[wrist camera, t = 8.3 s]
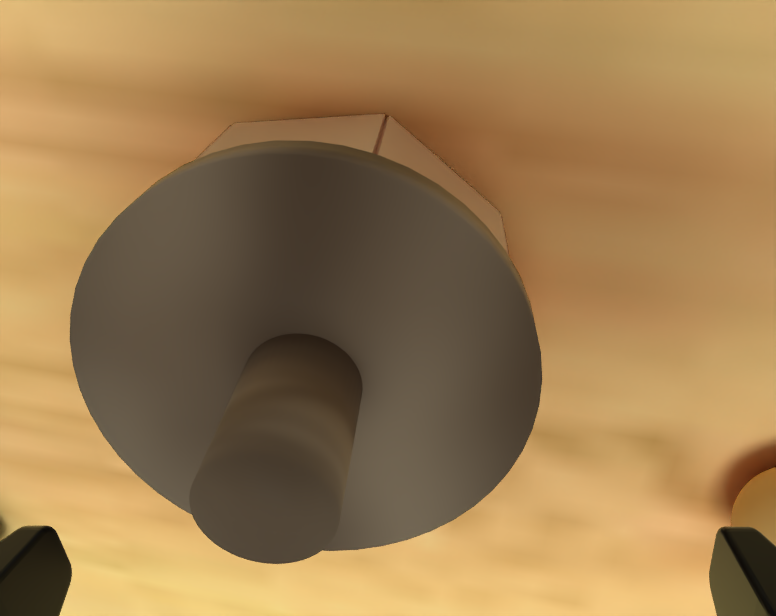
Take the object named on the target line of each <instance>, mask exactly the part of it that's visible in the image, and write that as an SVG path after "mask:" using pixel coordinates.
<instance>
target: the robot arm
mask: <svg viewBox="0 0 776 616" xmlns="http://www.w3.org/2000/svg"><path fill="white" fill-rule="evenodd" d="M71 577H72V569H71V564H70V561H69V559H68V557H67V554H66V552H65V550H64V548H63V545H62V543H61V541H60V539H59V536H58V534H57V532H56V531H55V530H54V529H53V528H52V527H50V526H24V527H21V528H19V529H17V530H16V531H14V532H13V533H12V534H10V535H9V536H7V537H6V538H5V539H3V540H2V541H0V616H59V615H60V612H61V609H62V606H63V603H64V600H65V597H66V594H67V591H68V588H69V586H70V582H71ZM709 581H710V588H711V593H712V597H713V601H714V605H715V609H716V613H717V616H776V546H775V545H774V544H773V543H772V542H771V541H770V540H768V539H767V538H766V537H765V536H764V535H763V534H762V533H761V532H759V531H758V530H756V529H754V528H752V527H721V528H720V529H719V530H718V532H717V534H716V538H715V544H714V549H713V554H712V560H711V565H710V571H709Z"/></svg>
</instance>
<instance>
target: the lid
mask: <svg viewBox="0 0 776 616" xmlns="http://www.w3.org/2000/svg"><path fill="white" fill-rule="evenodd" d="M70 345H71V352H72V360H73V366H74V370H75V374H76V377H77V381H78V384H79V388H80V391H81V393H82V396H83V398H84V400H85V403H86V405H87V407H88V409H89V412H90V414H91V416H92V417H93V419H94V421H95V422H96V424H97V426H98V427H99V429H100V431H101V432H102V434H103V436H104V437H105V438H106V440H107V441H108V442H109V444H110V445H111V446H112V448H113V449H114V450H115V452H116V453H117V454H118V455H119V457H120V458H121V459H122V460H123V461H124V462H125V463H126V464H127V465H128V466H129V467H130V468H131V469H132V470H133V471H134V472H135V473H136V474H137V476H139V477H140V478H141V479H142V480H143V481H145V482H146V483H147V484H148V485H149V486H150V487H152V488H153V489H154V490H155V491H156V492H158V493H159V494H160V495H162V496H163V497H165V498H166V499H168V500H169V501H171V502H172V503H173V504H175V505H176V506H178V507H179V508H181V509H183V510H185V511H186V512H188V513H190V514H192V515H193V518H194V520H195V521H196V523H197V525H198V526H199V528H200V529H201V530H202V532H203V533H204V534H205V535H206V536H207V537H208V538H209V539H210V540H211V541H213V542H214V543H215V544H216V545H218V546H219V547H221V548H222V549H224V550H226V551H228V552H229V553H231V554H234V555H236V556H238V557H241V558H244V559H247V560H251V561H255V562H261V563H271V564H282V563H291V562H297V561H300V560H304V559H307V558H309V557H311V556H313V555H315V554H317V553H319V552H320V551H322V550H324V551H338V550H358V549H365V548H372V547H379V546H384V545H388V544H392V543H396V542H400V541H404V540H408V539H411V538H413V537H416V536H419V535H422V534H424V533H427V532H430V531H432V530H434V529H436V528H438V527H440V526H442V525H444V524H446V523H448V522H450V521H452V520H454V519H455V518H457V517H458V516H460V515H461V514H463V513H464V512H466V511H467V510H469V509H471V508H472V507H474V506H475V505H476V504H477V503H478V502H479V501H481V500H482V499H483V498H484V497H485V496H486V495H488V494H489V493H490V492H491V491H492V490H493V489H494V488H495V487H496V486H497V485H498V483H499V482H500V481H501V480H502V479H503V478H504V477H505V476H506V474H507V473H508V472H509V471H510V469H511V468H512V466H513V465H514V463H515V462H516V460H517V458H518V457H519V455H520V454H521V452H522V451H523V448H524V446H525V444H526V442H527V440H528V437H529V435H530V433H531V431H532V429H533V425H534V421H535V418H536V414H537V411H538V407H539V402H540V393H541V384H542V368H541V351H540V346H539V342H538V337H537V332H536V327H535V323H534V318H533V314H532V309H531V304H530V301H529V298H528V296H527V293H526V291H525V288H524V285H523V283H522V280H521V277H520V275H519V273H518V272H517V270H516V268H515V266H514V264H513V263H512V261H511V259H510V257H509V256H508V254H507V252H506V250H505V249H504V248H503V246H502V245H501V244H500V242H499V241H498V240H497V239H496V237H495V236H494V235H493V233H492V232H491V231H490V229H489V228H488V227H487V226H486V225H485V224H484V223H483V222H482V221H481V220H480V219H479V218H478V217H477V216H476V215H475V214H474V213H473V212H472V211H471V210H470V209H469V208H468V207H467V206H466V205H465V204H464V203H463V202H461V201H460V200H459V199H457V198H456V197H455V196H453V195H452V194H451V193H449V192H448V191H447V190H445V189H444V188H443V187H441V186H440V185H439V184H437V183H435V182H434V181H432V180H430V179H428V178H427V177H425V176H423V175H421V174H420V173H418V172H416V171H414V170H413V169H411V168H409V167H407V166H404V165H402V164H399V163H397V162H395V161H392V160H390V159H387V158H385V157H382V156H380V155H378V154H374V153H370V152H367V151H363V150H359V149H355V148H352V147H348V146H344V145H338V144H330V143H323V142H316V141H285V140H275V141H267V142H259V143H251V144H244V145H239V146H236V147H232V148H228V149H224V150H221V151H217V152H213V153H210V154H208V155H206V156H203V157H201V158H199V159H196V160H194V161H192V162H189V163H187V164H185V165H183V166H181V167H179V168H178V169H176V170H175V171H173V172H171V173H170V174H168V175H167V176H165V177H163V178H162V179H160V180H159V181H157V182H156V183H155V184H154V185H152V186H151V187H150V188H149V189H148V190H147V191H145V192H144V193H143V194H142V195H141V196H140V197H139V198H137V199H136V200H135V201H134V202H133V203H132V204H131V205H130V206H128V207H127V208H126V209H125V210H124V211H123V212H122V213H121V214H120V215H119V216H117V218H116V219H115V220H114V221H113V222H112V224H111V225H110V226H109V227H108V228H107V230H106V231H105V232H104V233H103V234H102V236H101V237H100V238H99V239H98V241H97V243H96V244H95V246H94V248H93V250H92V251H91V253H90V255H89V257H88V258H87V260H86V262H85V264H84V267H83V269H82V272H81V275H80V277H79V280H78V283H77V285H76V288H75V293H74V298H73V304H72V309H71V317H70Z"/></svg>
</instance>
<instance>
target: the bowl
mask: <svg viewBox="0 0 776 616" xmlns="http://www.w3.org/2000/svg"><path fill="white" fill-rule="evenodd" d="M275 140H285V141H316V142H323V143H330V144H338V145H344V146H348V147H352V148H355V149H359V150H363V151H367V152H370V153H374V154H378V155H380V156H382V157H385V158H387V159H390V160H392V161H395V162H397V163H399V164H402V165H404V166H407V167H409V168H411V169H413V170H414V171H416V172H418V173H420V174H421V175H423V176H425V177H427V178H428V179H430V180H432V181H434V182H435V183H437V184H439V185H440V186H441V187H443V188H444V189H445V190H447V191H448V192H449V193H451V194H452V195H453V196H455V197H456V198H457V199H459V200H460V201H461V202H463V203H464V204H465V205H466V206H467V207H468V208H469V209H470V210H471V211H472V212H473V213H474V214H475V215H476V216H477V217H478V218H479V219H480V220H481V221H482V222H483V223H484V224H485V225H486V226H487V227H488V228H489V229H490V231H491V232H492V233H493V235H494V236H495V237H496V239H497V240H498V241H499V242H500V244H501V245H502V246H503V248H504V249H505V250H506V252H507V254H508V256H509V252H508V247H507V241H506V236H505V230H504V225H503V220H502V216H501V215H500V212H499V211H498V210H497V209H496V208H495V207H493V206H492V205H491V204H490V203H489V202H488V201H487V200H486V199H484V198H483V197H482V196H481V195H480V194H479V193H478V192H476V191H475V190H474V189H473V188H472V187H471V186H470V185H468V184H467V183H466V182H465V181H464V180H463V179H462V178H461V177H459V176H458V175H457V174H456V173H455V172H454V171H453V170H451V169H450V168H449V167H448V166H447V165H446V164H445V163H443V162H442V161H441V160H440V159H439V158H438V157H437V156H435V155H434V154H433V153H432V152H431V151H430V150H429V149H428V148H426V147H425V146H424V145H423V144H422V143H421V142H420V141H418V140H417V139H416V138H415V137H414V136H413V135H412V134H410V133H409V132H408V131H407V130H406V129H405V128H404V127H403V126H401V125H400V124H399V123H398V122H397V121H396V120H395V119H393V118H392V117H391V116H390V115H389V116H388V118H387V119H386V120H385V114H369V115H353V116H337V117H321V118H306V119H290V120H274V121H258V122H242V123H234V124H233V125H232V126H231V125H230V126H229V127H228V128H227V129H226V130H225V131H224V132H223V133H222V134H221V135H220V136H219V137H218V138H217V139H216V140H215V141H214V142H213V143H212V144H211V145H210V146H208V147H207V148H206V149H205V150H204V151H203V152H202V153H201V154H200V155H199V156H198V157H197V158H196V159H199V158H201V157H203V156H206V155H208V154H210V153H213V152H217V151H221V150H224V149H228V148H232V147H236V146H239V145H244V144H251V143H259V142H267V141H275ZM196 159H195V160H196Z"/></svg>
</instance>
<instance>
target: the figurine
mask: <svg viewBox="0 0 776 616" xmlns="http://www.w3.org/2000/svg"><path fill="white" fill-rule="evenodd" d="M731 527H752V528H754V529H756V530H758V531H759V532H761V533H762V534H763V535H764V536H765V537H766V538H767V539H768V540H770V541H771V542H772V543H773V544H774V545H775V546H776V467H775V468H771V469H769V470H766V471H764V472H762V473H760V474H758V475H757V476H755V477H754V478H752V479H751V480H750V481H749V482H748V483H747V484H746V485H745V486H744V487H743V488H742V490H741V491H740V493H739V494H738V496H737V498H736V500H735V503H734V505H733V509H732V514H731Z"/></svg>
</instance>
